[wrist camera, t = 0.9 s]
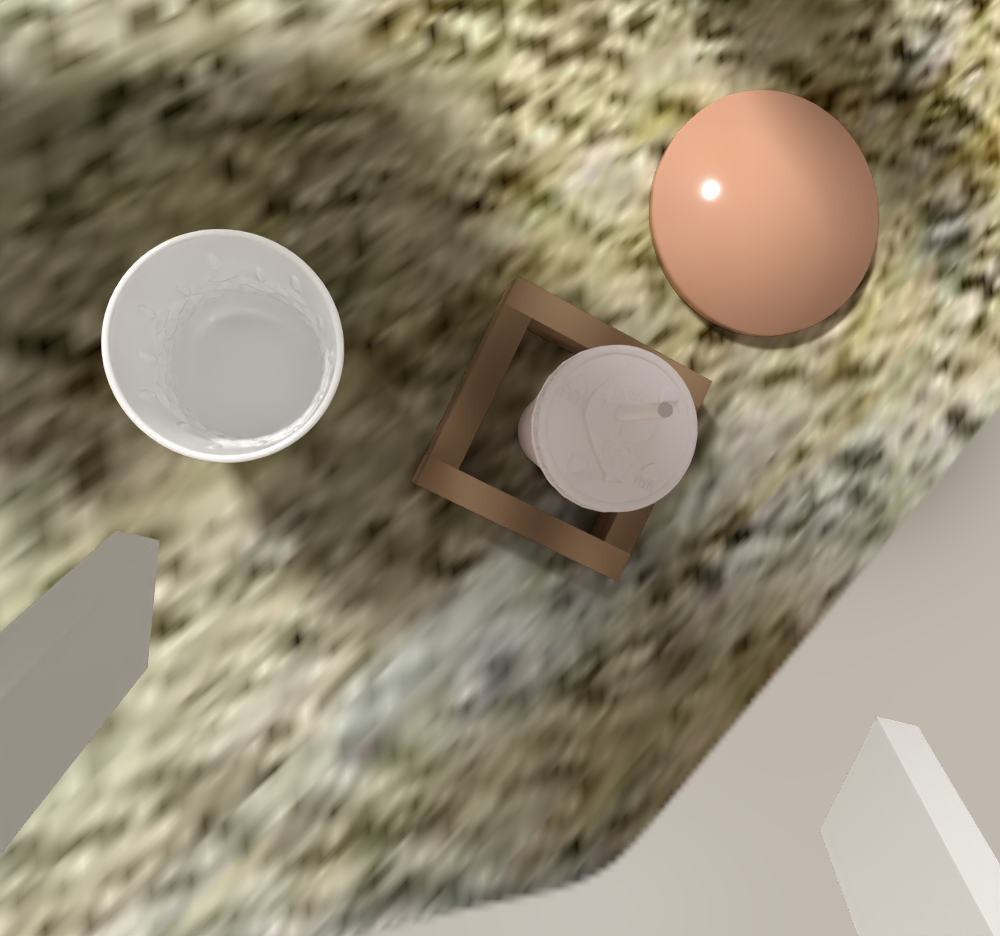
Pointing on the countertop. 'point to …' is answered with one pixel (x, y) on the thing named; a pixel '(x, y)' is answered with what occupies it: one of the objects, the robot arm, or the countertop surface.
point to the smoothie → (611, 428)
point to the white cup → (222, 345)
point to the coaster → (763, 213)
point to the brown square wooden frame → (470, 404)
